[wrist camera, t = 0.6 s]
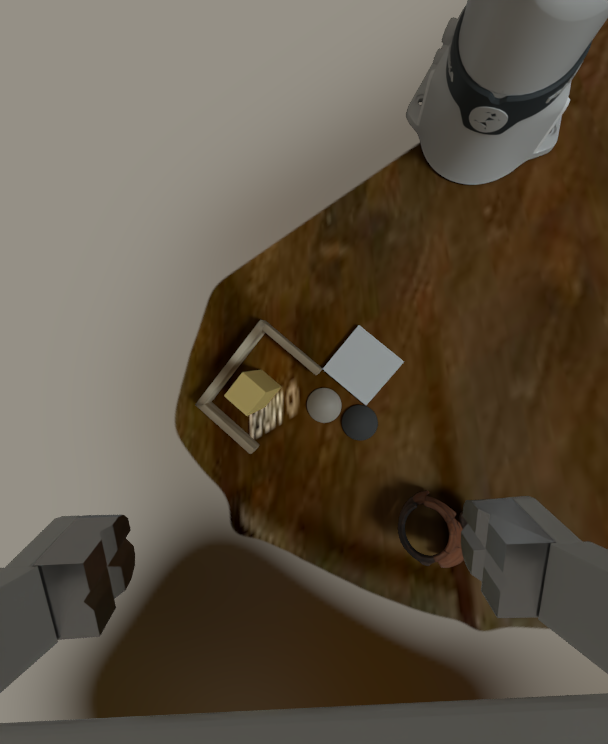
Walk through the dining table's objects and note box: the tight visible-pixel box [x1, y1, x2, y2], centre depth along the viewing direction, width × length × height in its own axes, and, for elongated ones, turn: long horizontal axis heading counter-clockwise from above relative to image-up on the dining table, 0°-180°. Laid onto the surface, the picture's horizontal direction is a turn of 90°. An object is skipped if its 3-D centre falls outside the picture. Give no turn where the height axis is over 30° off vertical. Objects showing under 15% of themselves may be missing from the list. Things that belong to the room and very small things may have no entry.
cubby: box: [195, 320, 322, 454], centre depth 52 cm, size 16×11×2 cm
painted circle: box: [307, 388, 341, 423], centre depth 52 cm, size 5×5×1 cm
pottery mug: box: [398, 491, 468, 568], centre depth 47 cm, size 12×10×8 cm
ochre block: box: [224, 370, 281, 416], centre depth 50 cm, size 4×4×8 cm
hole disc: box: [342, 405, 378, 440], centre depth 51 cm, size 5×5×1 cm
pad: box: [323, 325, 404, 405], centre depth 50 cm, size 8×8×1 cm
